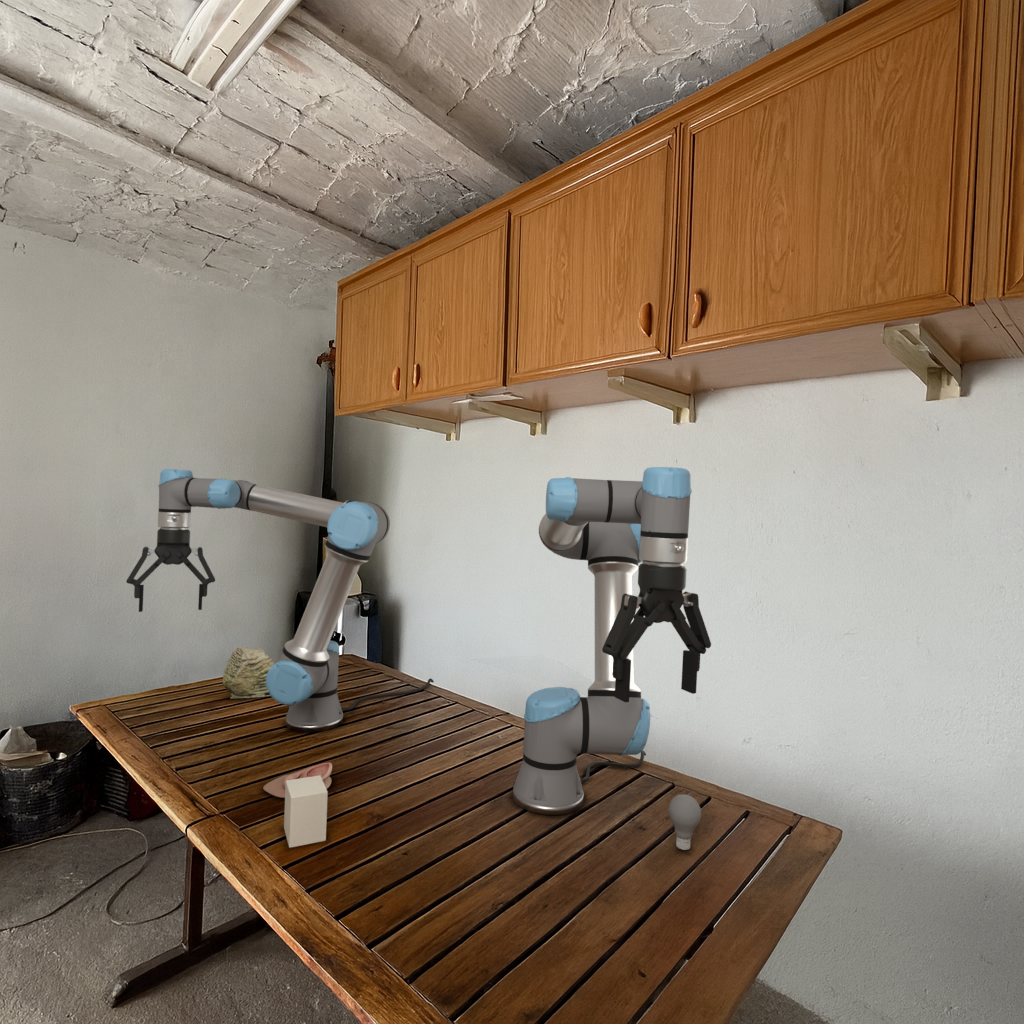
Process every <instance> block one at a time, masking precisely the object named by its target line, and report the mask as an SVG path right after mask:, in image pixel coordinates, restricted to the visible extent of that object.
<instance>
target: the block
mask: <svg viewBox="0 0 1024 1024" xmlns="http://www.w3.org/2000/svg"><path fill="white" fill-rule="evenodd" d="M328 797H329V791H328V788H327V789H326V787H325V785H324V782H323V780H322V778H321V776H320V775H319V776H313V777H306V778H299V779H293V780H286V786H285V798H284V816H283V817H284V818H283V829H284V833H285V838H286V840H287V845H288V848H290V849H291V848H296V847H300V846H306V845H310V844H311V845H312V844H316V843H322V842H326V841H327V820H328Z"/></svg>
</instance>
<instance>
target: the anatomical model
mask: <svg viewBox="0 0 1024 1024" xmlns="http://www.w3.org/2000/svg"><path fill="white" fill-rule="evenodd" d="M332 771H333V763H332V762H323V763H319V764H316V765H312V766H309V767H307V768H303V769H301V770H298V771H294V772H293V773H290V774H289V773H288V774H284V775H281V776H279V777H277V778H275V779H272V780H271V781H269V782H267V783H266V784H265V785H264V786H263V788H262V789H263V791H264V792H266V793H268V794H270V795H272V796H274V797H277V798H283V799H285V786H286V780H293V779H299V778H306V777H313V776H319V775H320V776H321V778H322V780H323V782H324V785H325V787H326V789H327V790H328V789H329V787H330V786H331V784H332V778H331V774H332Z"/></svg>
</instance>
